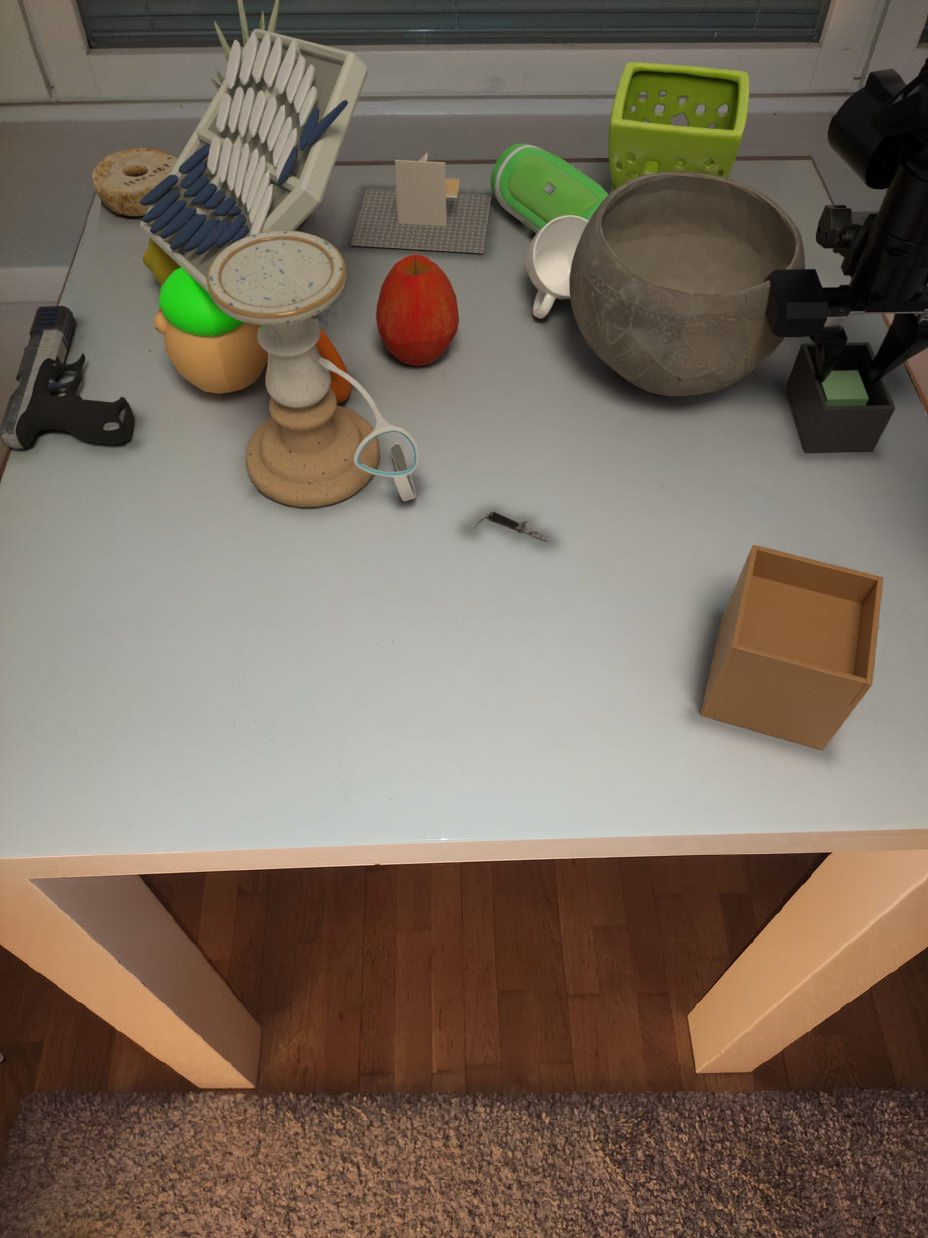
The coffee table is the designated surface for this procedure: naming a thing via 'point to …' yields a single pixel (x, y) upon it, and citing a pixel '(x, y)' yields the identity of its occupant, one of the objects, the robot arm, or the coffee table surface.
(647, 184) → the bowl
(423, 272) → the apple
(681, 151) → the flower pot
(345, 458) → the candle holder
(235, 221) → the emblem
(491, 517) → the knife
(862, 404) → the block
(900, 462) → the coffee table surface
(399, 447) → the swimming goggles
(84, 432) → the handgun
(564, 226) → the cup
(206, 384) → the figurine
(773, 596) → the box
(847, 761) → the coffee table surface
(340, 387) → the orange flat curved piece
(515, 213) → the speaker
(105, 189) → the stone disc
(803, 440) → the black open box
